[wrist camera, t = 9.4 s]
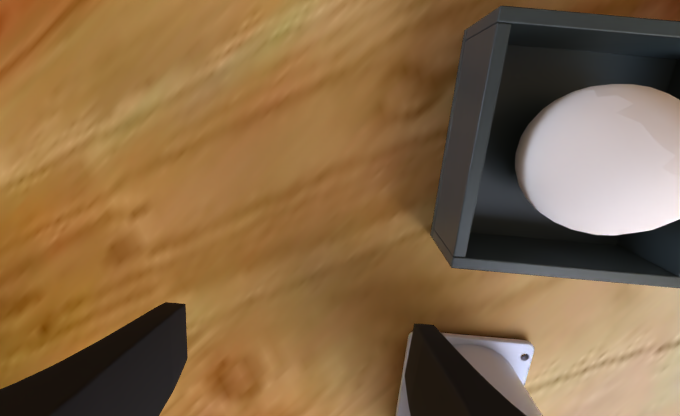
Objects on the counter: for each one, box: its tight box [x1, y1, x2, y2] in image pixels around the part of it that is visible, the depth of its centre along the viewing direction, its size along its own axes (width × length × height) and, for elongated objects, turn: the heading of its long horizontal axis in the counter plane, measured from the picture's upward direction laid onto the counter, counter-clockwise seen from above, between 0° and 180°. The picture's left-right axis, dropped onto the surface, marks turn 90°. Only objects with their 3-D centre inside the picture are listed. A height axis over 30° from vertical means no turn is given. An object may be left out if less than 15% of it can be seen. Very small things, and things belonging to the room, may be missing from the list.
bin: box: [430, 6, 680, 288], centre depth 17 cm, size 11×11×4 cm
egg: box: [515, 84, 680, 235], centre depth 15 cm, size 6×6×8 cm
